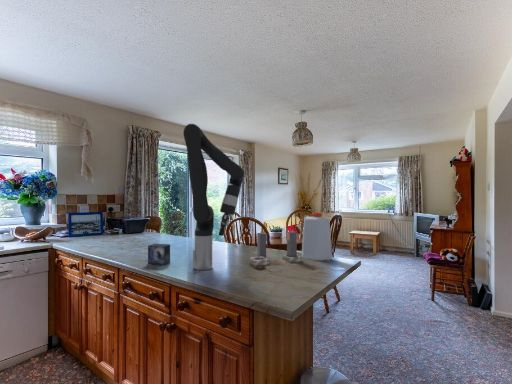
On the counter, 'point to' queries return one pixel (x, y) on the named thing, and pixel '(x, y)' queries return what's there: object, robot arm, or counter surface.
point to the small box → (159, 254)
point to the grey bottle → (316, 238)
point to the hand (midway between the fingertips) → (220, 235)
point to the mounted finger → (291, 244)
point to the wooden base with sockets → (272, 261)
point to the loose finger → (261, 244)
